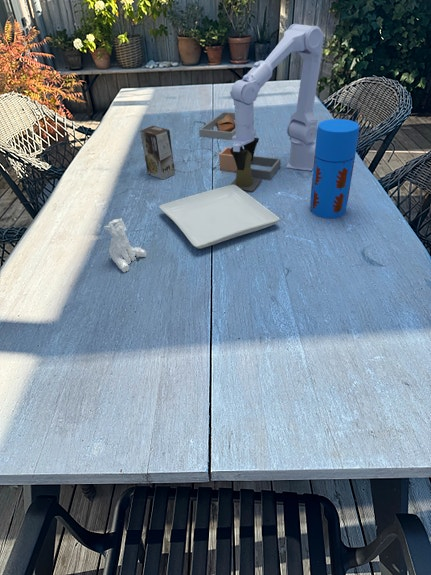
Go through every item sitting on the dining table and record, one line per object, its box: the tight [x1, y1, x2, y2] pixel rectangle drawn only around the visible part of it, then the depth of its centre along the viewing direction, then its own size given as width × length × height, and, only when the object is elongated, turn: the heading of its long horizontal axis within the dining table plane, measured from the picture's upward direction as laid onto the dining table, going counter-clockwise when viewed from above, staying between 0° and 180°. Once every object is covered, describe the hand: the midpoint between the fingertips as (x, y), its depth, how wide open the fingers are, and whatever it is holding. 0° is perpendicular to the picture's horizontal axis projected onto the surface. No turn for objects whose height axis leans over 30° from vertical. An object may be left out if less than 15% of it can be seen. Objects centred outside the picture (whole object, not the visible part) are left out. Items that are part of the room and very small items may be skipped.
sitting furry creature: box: [103, 217, 147, 273], centre depth 106 cm, size 10×9×12 cm
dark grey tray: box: [198, 111, 236, 141], centre depth 185 cm, size 16×26×3 cm, turn 155°
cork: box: [235, 151, 253, 187], centre depth 137 cm, size 6×6×11 cm
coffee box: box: [139, 125, 176, 180], centre depth 147 cm, size 9×6×16 cm
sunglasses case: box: [216, 114, 235, 132], centre depth 185 cm, size 18×7×7 cm, turn 7°
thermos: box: [309, 118, 360, 219], centre depth 116 cm, size 11×11×25 cm
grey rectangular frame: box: [250, 155, 282, 181], centre depth 147 cm, size 12×12×3 cm
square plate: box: [158, 184, 281, 249], centre depth 122 cm, size 27×27×4 cm
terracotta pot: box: [218, 146, 237, 173], centre depth 150 cm, size 7×7×6 cm
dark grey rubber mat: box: [229, 178, 263, 193], centre depth 140 cm, size 9×9×1 cm
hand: (245, 165), depth 136 cm, fingers open, 7 cm apart
